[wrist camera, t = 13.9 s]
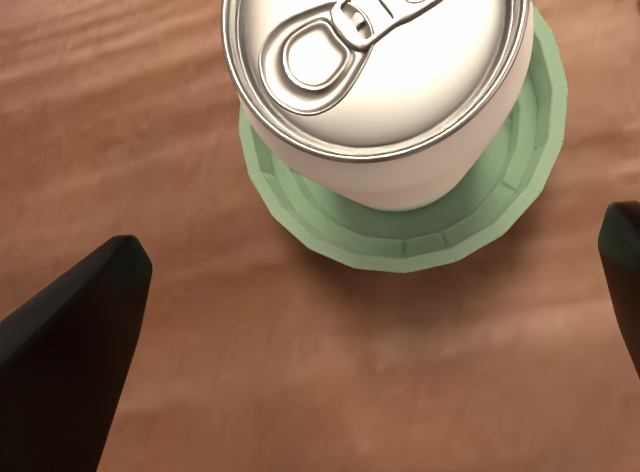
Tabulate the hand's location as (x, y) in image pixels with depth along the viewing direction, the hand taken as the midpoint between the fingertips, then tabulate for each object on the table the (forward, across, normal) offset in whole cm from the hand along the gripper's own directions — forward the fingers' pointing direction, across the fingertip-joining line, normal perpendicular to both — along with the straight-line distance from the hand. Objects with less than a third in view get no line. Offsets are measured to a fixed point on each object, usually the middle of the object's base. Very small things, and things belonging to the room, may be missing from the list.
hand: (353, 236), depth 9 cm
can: (+11, -1, +5) cm, 12 cm away
